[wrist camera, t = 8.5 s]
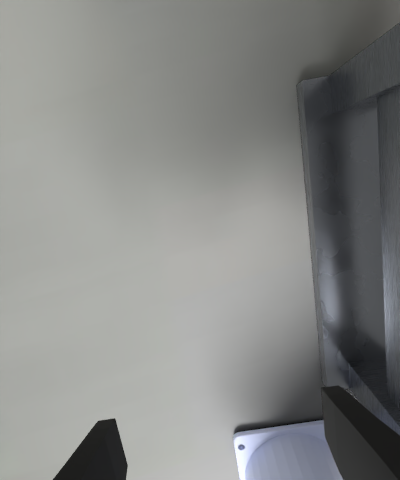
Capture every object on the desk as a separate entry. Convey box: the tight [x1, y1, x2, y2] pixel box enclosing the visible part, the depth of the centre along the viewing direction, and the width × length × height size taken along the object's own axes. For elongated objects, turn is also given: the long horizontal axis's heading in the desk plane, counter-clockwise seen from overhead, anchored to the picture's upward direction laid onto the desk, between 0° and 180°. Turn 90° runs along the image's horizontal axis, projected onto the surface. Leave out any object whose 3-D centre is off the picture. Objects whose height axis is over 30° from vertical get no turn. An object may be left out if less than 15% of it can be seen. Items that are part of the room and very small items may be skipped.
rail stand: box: [296, 23, 400, 435], centre depth 16 cm, size 20×6×7 cm, turn 9°
